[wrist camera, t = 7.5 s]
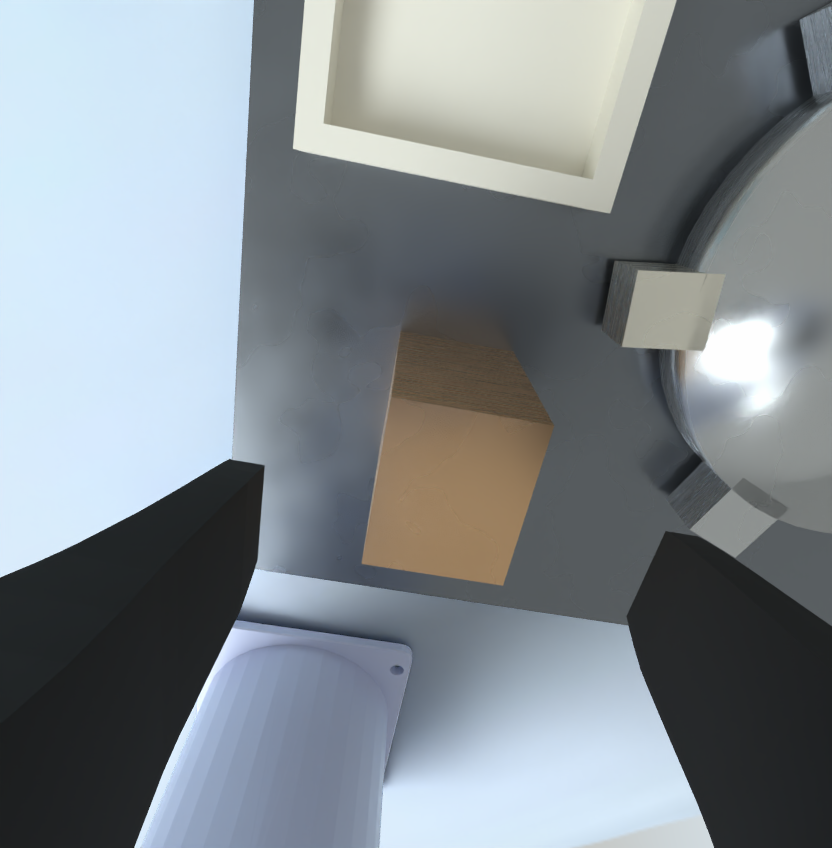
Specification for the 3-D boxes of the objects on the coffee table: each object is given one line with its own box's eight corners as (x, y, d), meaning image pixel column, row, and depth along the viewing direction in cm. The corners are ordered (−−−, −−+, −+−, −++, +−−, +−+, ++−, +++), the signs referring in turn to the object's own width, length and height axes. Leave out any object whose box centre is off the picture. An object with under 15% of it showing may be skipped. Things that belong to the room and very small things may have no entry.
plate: (866, 646, 20) (883, 663, 20) (234, 550, 19) (226, 564, 18) (1323, 13, 12) (1381, 2, 12) (278, -253, 11) (268, -285, 10)
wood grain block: (480, 474, 16) (503, 585, 12) (378, 457, 16) (361, 564, 12) (513, 351, 15) (554, 426, 10) (400, 330, 15) (391, 397, 10)
